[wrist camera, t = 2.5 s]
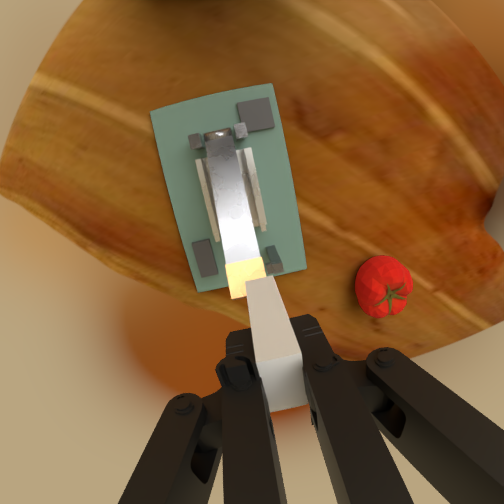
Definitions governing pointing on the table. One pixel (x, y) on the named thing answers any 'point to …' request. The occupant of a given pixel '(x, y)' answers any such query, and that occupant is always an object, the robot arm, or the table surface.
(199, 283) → the board
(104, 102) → the table surface
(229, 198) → the silver flat strip
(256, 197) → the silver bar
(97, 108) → the table surface
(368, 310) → the tomato
